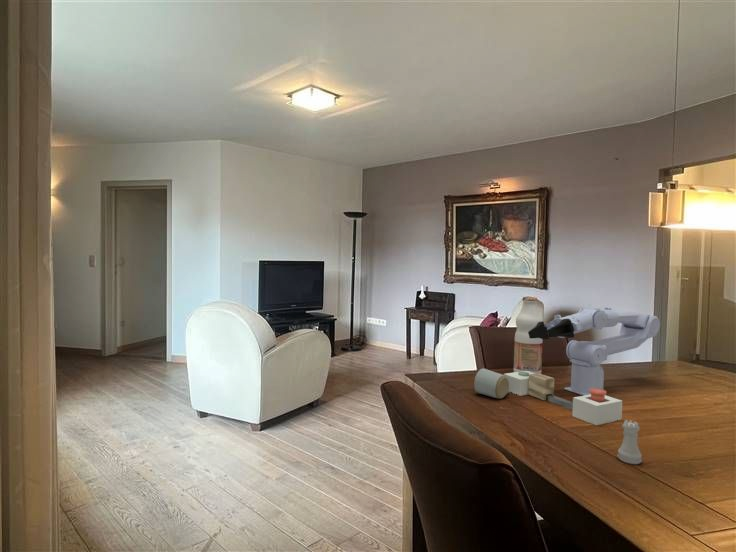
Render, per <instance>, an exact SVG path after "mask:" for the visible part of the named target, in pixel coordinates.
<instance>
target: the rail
mask: <svg viewBox="0 0 736 552" xmlns="http://www.w3.org/2000/svg"><path fill="white" fill-rule="evenodd" d="M545 401H546V402H549V403H552V404H555V405H556V406H557V405H558V406H560V407H562V408H565V409H568V410H571V411H573V401H571V400H568V399H564V398H562V397H559V396H556V395H555V394H554V395H551V394H547V395H546V400H545Z"/></svg>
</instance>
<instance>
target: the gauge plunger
mask: <svg viewBox="0 0 736 552" xmlns="http://www.w3.org/2000/svg"><path fill="white" fill-rule="evenodd" d="M589 392H590V393H591V400H593V401H596V402H599V403H601V402H604V401H605V395H606V396H607V390H605V389H603V390H602V389H597V388H591V389H589Z"/></svg>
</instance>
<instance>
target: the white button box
mask: <svg viewBox="0 0 736 552" xmlns="http://www.w3.org/2000/svg"><path fill="white" fill-rule="evenodd" d="M530 374H536V373H533V372H529V371H521V372H514V371H513V372H507V373H503V375H504V376H506V377H507V379H508V381H509V392H508V393H511V392H512V394H514V395H516V394H517V395H516V396H526V395H527V396H528V395H529V394H528V388H529V375H530Z"/></svg>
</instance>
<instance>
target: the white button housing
mask: <svg viewBox="0 0 736 552" xmlns="http://www.w3.org/2000/svg"><path fill="white" fill-rule="evenodd" d="M572 402H573V410H572V414H571V415H572V417H573V418H576V419H578V420H581V421H584V422H586V423H589V424H592V425H595V426H601V425H605V424H608V423H613V422H617V420H618V421H621V420H622V419H623V400H621V399H618V398H616V397H615V398H614V397H612V396H609V395H607V394H606V395H605V401H604V402H601V403H599V402H596V401H593V400H591V394H590V395H585V396H583V395H580V396H574V397H572Z"/></svg>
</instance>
